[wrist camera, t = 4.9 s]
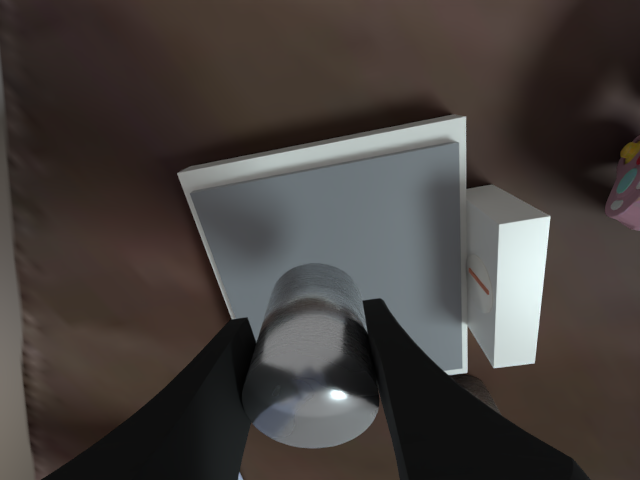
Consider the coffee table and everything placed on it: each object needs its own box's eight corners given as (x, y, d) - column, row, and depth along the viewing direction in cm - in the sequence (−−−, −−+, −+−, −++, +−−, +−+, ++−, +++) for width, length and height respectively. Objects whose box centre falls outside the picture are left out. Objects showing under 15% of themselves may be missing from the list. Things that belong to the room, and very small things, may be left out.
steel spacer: (284, 346, 15) (264, 455, 10) (258, 273, 13) (222, 362, 9) (369, 332, 15) (388, 439, 10) (353, 254, 13) (366, 338, 8)
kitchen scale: (265, 379, 24) (251, 446, 19) (189, 166, 17) (141, 192, 13) (487, 350, 22) (529, 416, 18) (494, 106, 16) (561, 111, 11)
